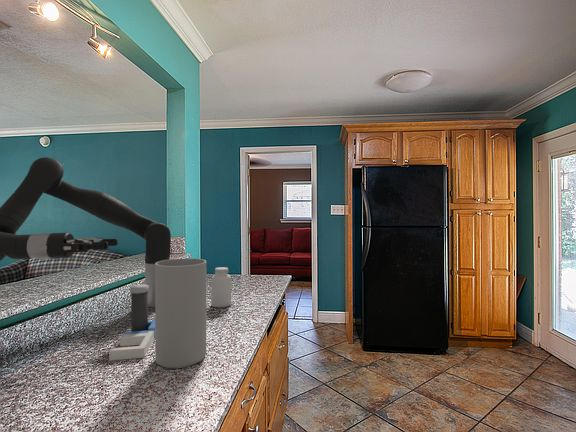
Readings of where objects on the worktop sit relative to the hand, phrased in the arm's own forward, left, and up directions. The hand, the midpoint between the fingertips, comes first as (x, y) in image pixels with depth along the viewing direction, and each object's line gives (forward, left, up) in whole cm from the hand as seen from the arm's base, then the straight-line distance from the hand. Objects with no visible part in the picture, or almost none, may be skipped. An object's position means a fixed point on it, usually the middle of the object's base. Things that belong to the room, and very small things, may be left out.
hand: (112, 243), depth 94 cm
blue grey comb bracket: (+10, +2, -28) cm, 30 cm away
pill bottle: (+4, +41, -28) cm, 50 cm away
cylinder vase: (+29, +3, -28) cm, 40 cm away
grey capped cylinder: (+6, +5, -28) cm, 29 cm away
